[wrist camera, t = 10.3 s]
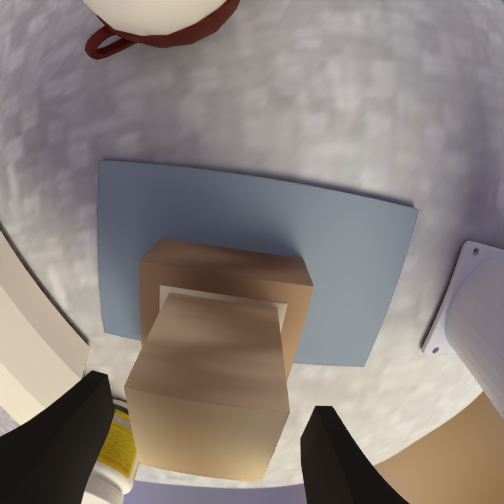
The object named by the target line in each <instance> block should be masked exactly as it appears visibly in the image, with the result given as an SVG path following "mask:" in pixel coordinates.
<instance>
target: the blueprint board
mask: <svg viewBox="0 0 504 504" xmlns="http://www.w3.org/2000/svg"><path fill="white" fill-rule="evenodd" d="M418 211H419V210H418V209H416V208H414V207H410V206H406V205H402V204H398V203H394V202H390V201H385V200H381V199H377V198H372V197H368V196H363V195H358V194H354V193H349V192H344V191H339V190H334V189H329V188H324V187H319V186H313V185H308V184H302V183H297V182H291V181H285V180H279V179H273V178H267V177H260V176H254V175H247V174H240V173H233V172H226V171H218V170H210V169H202V168H193V167H184V166H175V165H165V164H154V163H143V162H130V161H116V160H100V161H99V178H98V208H97V236H98V267H99V283H100V296H101V308H102V317H103V326H104V333H109V334H113V335H117V336H121V337H126V338H130V339H135V340H140V341H141V320H140V260H141V259H142V258H143V257H144V256H145V255H146V253H147V252H148V251H149V250H150V249H151V248H152V247H153V245H154V244H155V243H156V242H157V241H158V240H159V239H160V238H164V239H171V240H178V241H185V242H192V243H199V244H206V245H213V246H220V247H227V248H234V249H241V250H247V251H254V252H261V253H268V254H275V255H282V256H289V257H296V258H303V259H304V262H305V264H306V267H307V269H308V272H309V275H310V277H311V280H312V283H313V285H314V289H313V292H312V296H311V300H310V304H309V307H308V311H307V315H306V318H305V322H304V326H303V329H302V333H301V336H300V340H299V343H298V346H297V350H296V353H295V357H294V360H293V363H299V364H313V365H329V366H352V367H364V366H365V363H366V361H367V359H368V357H369V354H370V352H371V350H372V347H373V345H374V343H375V340H376V338H377V335H378V333H379V331H380V328H381V326H382V323H383V320H384V318H385V315H386V313H387V310H388V307H389V305H390V302H391V299H392V296H393V294H394V291H395V288H396V285H397V282H398V279H399V276H400V273H401V270H402V267H403V264H404V261H405V257H406V254H407V251H408V247H409V244H410V241H411V237H412V234H413V230H414V226H415V223H416V219H417V215H418Z"/></svg>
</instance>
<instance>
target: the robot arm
mask: <svg viewBox="0 0 504 504" xmlns="http://www.w3.org/2000/svg"><path fill="white" fill-rule="evenodd" d="M475 248H476V250H475V252H474V253H473V251H474V249H475ZM434 348H435V349H434ZM422 352H423V354H424V355H425V356H446V355H458V356H459V358H460V359H461V360H462V361H463V363H464V364H465V365H466V367H467V368H468V370H469V371H470V372H471V374H472V375H473V376H474V378H475V379H476V380H477V382H478V383H479V385H480V386H481V387H482V389H483V390H484V392H485V393H486V395H487V396H488V398H489V399H490V400H491V402H492V403H493V405H494V406H495V408H496V409H497V411H498V412H499V414H500V415H501V417H502V418H503V420H504V250H503V249H500V248H496V247H492V246H488V245H485V244H481V243H477V242H473V241H467V242H465V243H464V245H463V247H462V249H461V253H460V256H459V259H458V262H457V265H456V268H455V270H454V273H453V276H452V279H451V281H450V284H449V287H448V289H447V292H446V295H445V297H444V300H443V302H442V305H441V307H440V309H439V312H438V314H437V316H436V319H435V321H434V323H433V325H432V328H431V330H430V332H429V334H428V336H427V339H426V341H425V343H424V345H423V347H422ZM114 413H115V408H114V403H113V399H112V394H111V389H110V384H109V379H108V375H107V374H104V373H100V372H97V371H93V370H92V371H91V372H89V373H88V374H87V375H86V376H85V377H83V378H82V379H81V380H80V381H79V382H78V383H76V384H75V385H74V386H73V387H72V388H71V389H69V390H68V391H67V392H66V393H65V394H63V395H62V396H61V397H60V398H58V399H57V400H56V401H55V402H53V403H52V404H51V405H50V406H48V407H47V408H46V409H44V410H43V411H41V412H40V413H39V414H37V415H36V416H34V417H33V418H32V419H30V420H29V421H27V422H26V423H24V424H22V425H21V426H19V427H17V428H16V429H14V430H12V431H10V432H8V433H6V434H4V435H2V436H0V504H81V503H82V499H83V495H84V491H85V488H86V485H87V482H88V479H89V477H90V475H91V472H92V470H93V468H94V465H95V463H96V461H97V459H98V456H99V454H100V452H101V449H102V447H103V445H104V443H105V440H106V438H107V436H108V433H109V430H110V427H111V424H112V420H113V417H114ZM300 440H301V466H302V473H303V480H304V486H305V493H306V499H307V504H409V503H408V502H407V501H406V500H404V499H403V498H402V497H401V496H400V495H399V494H398V493H397V492H396V491H395V490H394V489H393V488H392V487H391V486H390V485H389V484H388V483H387V482H386V481H385V480H384V479H383V477H382V476H381V475H380V474H379V473H378V472H377V470H376V469H375V468H374V467H373V465H372V464H371V463H370V462H369V460H368V459H367V458H366V456H365V455H364V454H363V452H362V451H361V449H360V448H359V447H358V445H357V444H356V442H355V441H354V439H353V438H352V436H351V435H350V433H349V432H348V430H347V429H346V427H345V425H344V424H343V422H342V421H341V419H340V417H339V416H338V414H337V413H336V411H335V409H334V408H333V407H332V406H315V408H314V410H313V413H312V415H311V417H310V419H309V421H308V424H307V426H306V428H305V430H304V432H303V434H302V436H301V439H300Z"/></svg>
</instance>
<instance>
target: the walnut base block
mask: <svg viewBox="0 0 504 504" xmlns="http://www.w3.org/2000/svg"><path fill="white" fill-rule="evenodd" d="M313 289H314V285H313V283H312V280H311V277H310V275H309V272H308V269H307V267H306V264H305V262H304V259H303V258H296V257H289V256H282V255H275V254H268V253H261V252H254V251H247V250H241V249H234V248H227V247H220V246H213V245H206V244H199V243H192V242H185V241H178V240H171V239H164V238H160V239H159V240H158V241H157V242H156V243H155V244H154V245H153V247H152V248H151V249H150V250H149V251H148V252H147V253H146V255H145V256H144V257H143V258H142V259H141V260H140V320H141V342H142V347H143V345H144V343H145V341H146V339H147V337H148V335H149V333H150V331H151V328H152V326H153V324H154V322H155V320H156V318H157V316H158V314H159V312H160V310H161V308H162V306H163V304H164V302H165V300H166V298H167V296H168V294H169V292H173V293H179V294H185V295H191V296H197V297H204V298H210V299H217V300H224V301H231V302H238V303H245V304H252V305H259V306H267V307H275V308H278V316H279V324H280V332H281V341H282V349H283V357H284V366H285V374H286V383H287V379H288V376H289V373H290V370H291V367H292V363H293V360H294V357H295V353H296V350H297V346H298V343H299V340H300V336H301V333H302V329H303V326H304V322H305V318H306V315H307V311H308V307H309V304H310V300H311V296H312V292H313Z"/></svg>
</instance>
